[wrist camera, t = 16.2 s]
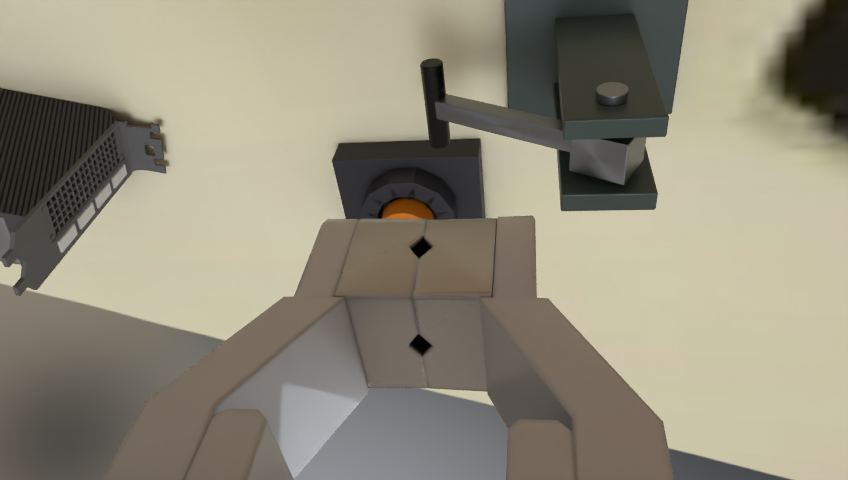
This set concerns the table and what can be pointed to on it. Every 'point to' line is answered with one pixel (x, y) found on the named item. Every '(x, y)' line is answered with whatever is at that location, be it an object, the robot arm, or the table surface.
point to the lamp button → (407, 210)
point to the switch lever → (525, 130)
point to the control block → (411, 177)
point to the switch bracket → (597, 81)
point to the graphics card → (60, 176)
